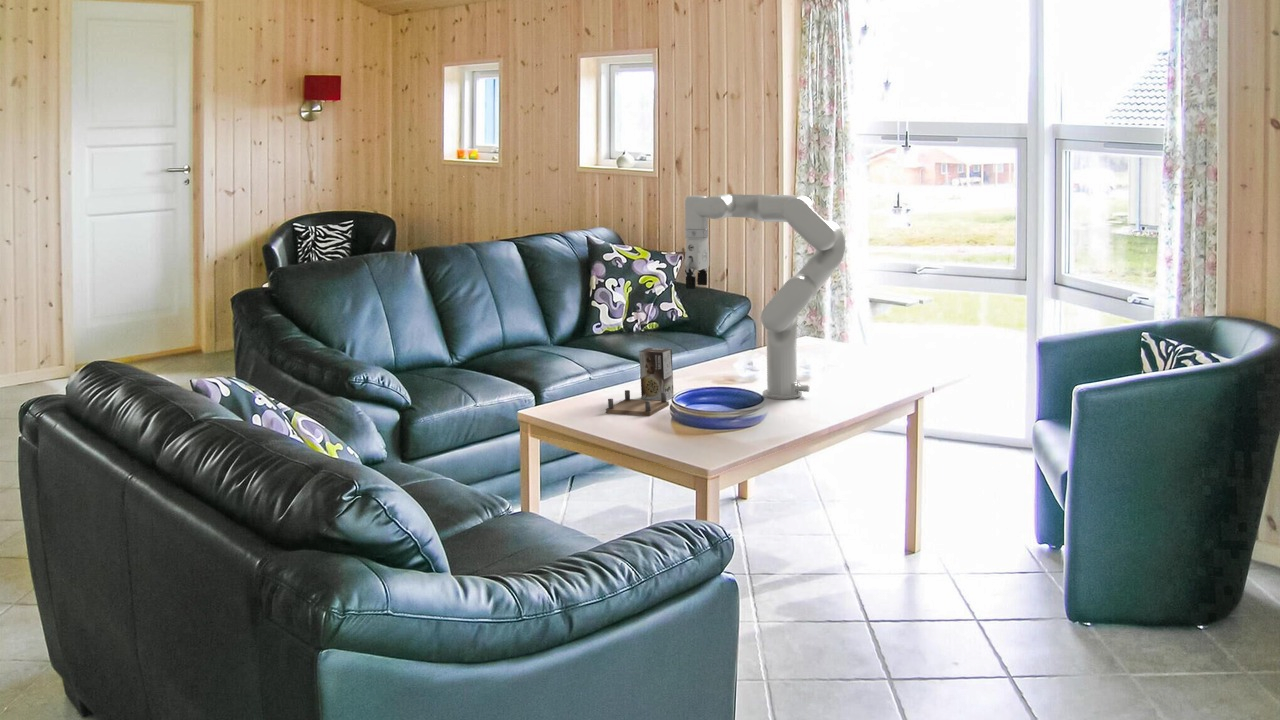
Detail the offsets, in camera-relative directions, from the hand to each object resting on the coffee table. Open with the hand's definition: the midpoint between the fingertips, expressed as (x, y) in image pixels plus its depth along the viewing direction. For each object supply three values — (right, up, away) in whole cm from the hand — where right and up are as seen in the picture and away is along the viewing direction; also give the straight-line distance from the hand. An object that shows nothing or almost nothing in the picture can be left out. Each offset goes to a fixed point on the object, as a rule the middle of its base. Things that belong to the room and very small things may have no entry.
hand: (696, 286), depth 392 cm
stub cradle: (-19, -39, -13) cm, 46 cm away
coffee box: (-13, -37, +1) cm, 39 cm away
